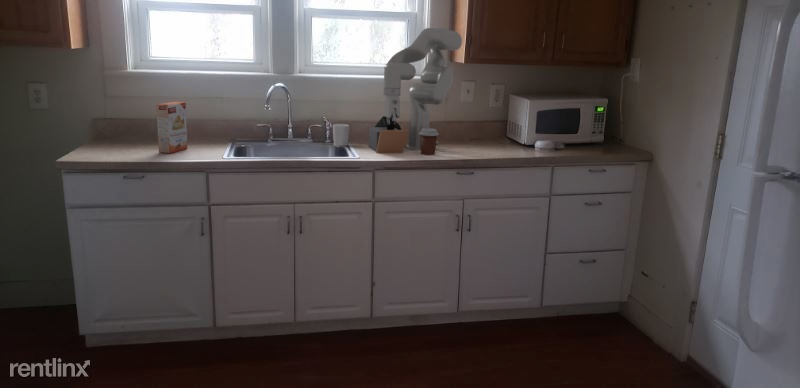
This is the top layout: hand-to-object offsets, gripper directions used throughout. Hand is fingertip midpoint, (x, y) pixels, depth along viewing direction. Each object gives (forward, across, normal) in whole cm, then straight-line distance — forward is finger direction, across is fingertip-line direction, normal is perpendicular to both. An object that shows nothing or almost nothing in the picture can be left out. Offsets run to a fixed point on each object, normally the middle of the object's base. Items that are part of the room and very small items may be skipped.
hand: (390, 133), depth 270 cm
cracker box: (+11, +19, +93) cm, 96 cm away
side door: (+10, +4, -1) cm, 10 cm away
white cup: (+10, +27, +17) cm, 33 cm away
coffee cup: (+10, -1, -18) cm, 21 cm away
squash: (+10, +28, -7) cm, 31 cm away
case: (+10, +12, -1) cm, 16 cm away
